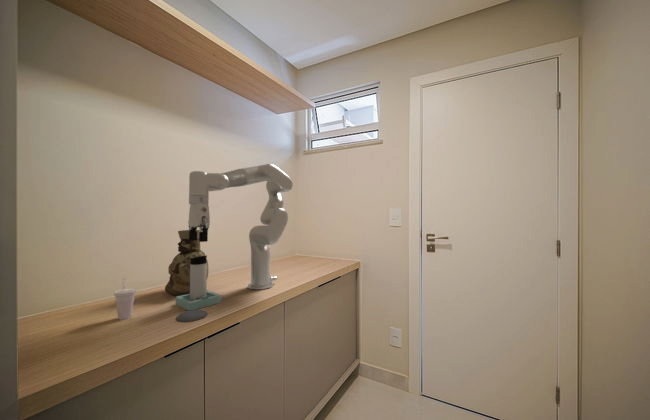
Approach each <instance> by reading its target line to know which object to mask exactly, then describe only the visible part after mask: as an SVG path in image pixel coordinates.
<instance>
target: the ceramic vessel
mask: <svg viewBox="0 0 650 420" xmlns="http://www.w3.org/2000/svg"><path fill="white" fill-rule="evenodd" d="M196 231H197V240H194V241H189V229H184V230H178V231H177V234H178V237H179V239H180V241H179V242H178V243H177V246H178V247H177V250H178V252H179V253H178V254H176V255H175V256H174V258H173V259H172V261H171V263H170V264H169V265H168V271H167V273H168V274H169V275H170V276H169V280H168V282H167V283H166V285H165V286H164V291H165V292H166V293H167V294H168V295H169V294H170V295H172V296H175V297H177V296H182V295H186V294H190V266H191V265H190V258H194V257H199V256H205V255H206V254H205V252H204V251H203V250H201V242H199V232H200V229H197V230H196ZM208 261H209V260H208V257H206V263H207V264H206V265H207V279H208V278H209V270H210V268H209V262H208Z"/></svg>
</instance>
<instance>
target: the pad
mask: <svg viewBox="0 0 650 420" xmlns="http://www.w3.org/2000/svg"><path fill="white" fill-rule="evenodd" d="M207 316H208V311H207V310H204V309H195V310H191V311H188V310H186V311H184V312H181V313H179V314H178V315H176V321H177V322H180V323H181V322H182V323H189V322H195V321H199V320H202V319H204V318H206V317H207Z"/></svg>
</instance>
